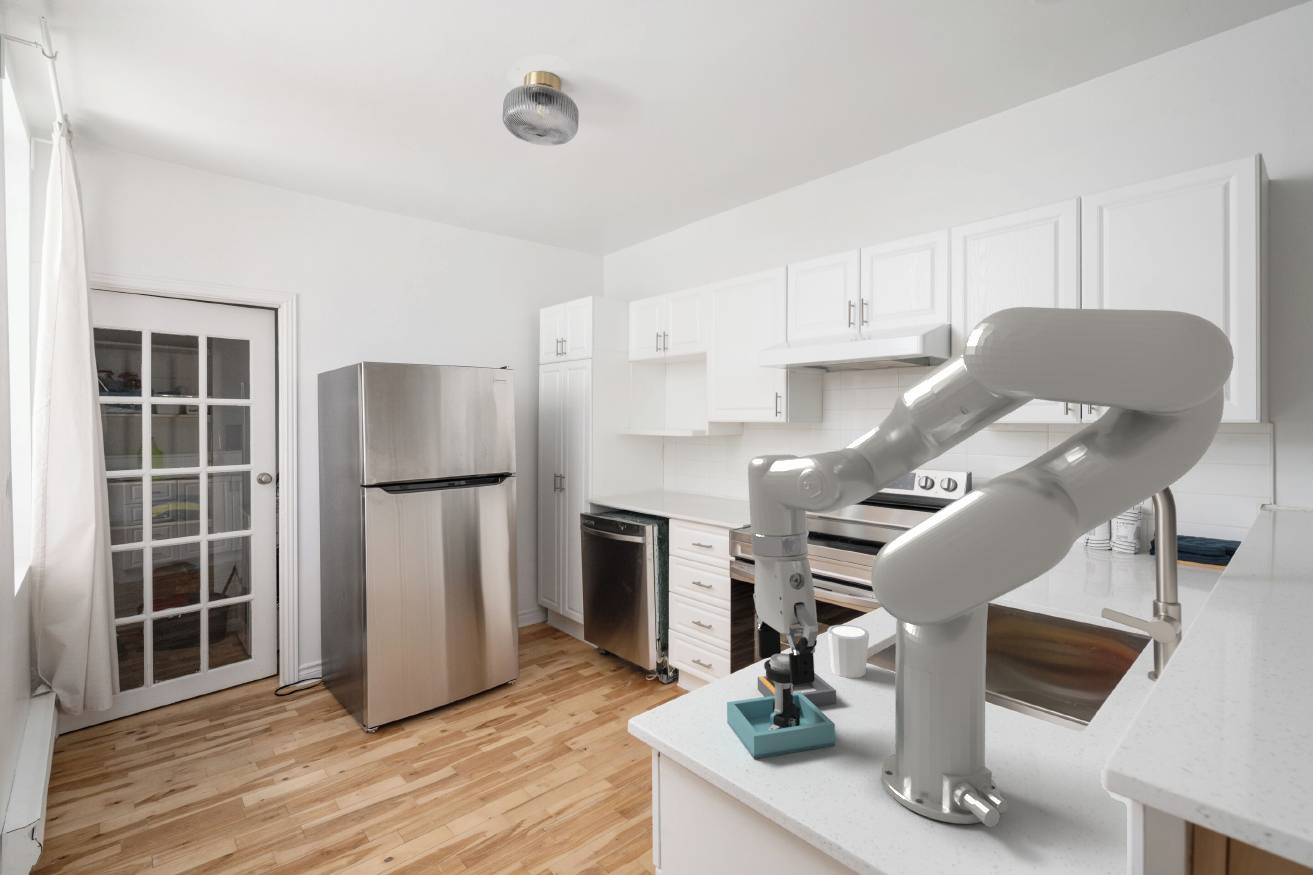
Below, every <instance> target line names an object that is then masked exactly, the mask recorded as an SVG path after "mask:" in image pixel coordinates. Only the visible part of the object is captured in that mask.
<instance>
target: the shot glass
mask: <svg viewBox="0 0 1313 875" xmlns="http://www.w3.org/2000/svg"><path fill="white" fill-rule="evenodd" d="M827 638H828V650H829V657H830V658H829V660H830V668H831V672H832V673H833V674H835V676H839V677H842V678H845V679H847V678H848V679H858V678H862V677H864V676H865V675H866V671H867V670H866V669H867V660H868V651H869V648H868V647H869V640H870V633H869V631H868V630H867V629H865V628H862V627H859V626H857V625H851V624H835V625H831V626H829V627H828V628H827Z"/></svg>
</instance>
